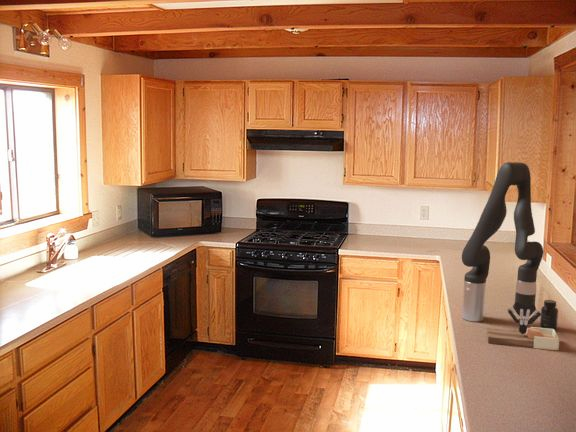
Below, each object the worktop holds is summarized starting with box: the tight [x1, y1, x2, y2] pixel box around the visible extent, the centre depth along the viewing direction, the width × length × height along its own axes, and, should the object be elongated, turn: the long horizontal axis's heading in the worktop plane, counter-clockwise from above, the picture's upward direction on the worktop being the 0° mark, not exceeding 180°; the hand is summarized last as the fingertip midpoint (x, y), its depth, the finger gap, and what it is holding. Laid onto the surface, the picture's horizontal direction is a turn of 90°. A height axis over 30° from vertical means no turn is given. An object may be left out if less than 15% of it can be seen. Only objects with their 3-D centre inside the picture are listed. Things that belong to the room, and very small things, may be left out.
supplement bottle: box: [539, 299, 559, 331], centre depth 265 cm, size 7×7×12 cm
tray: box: [529, 326, 560, 351], centre depth 247 cm, size 12×9×5 cm
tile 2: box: [542, 334, 554, 338], centre depth 247 cm, size 5×5×2 cm
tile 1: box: [526, 327, 543, 339], centre depth 248 cm, size 5×5×2 cm
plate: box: [485, 327, 534, 349], centre depth 250 cm, size 11×17×2 cm, turn 76°
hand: (522, 333), depth 249 cm, fingers closed
